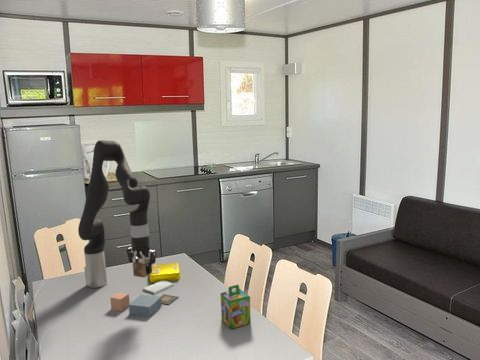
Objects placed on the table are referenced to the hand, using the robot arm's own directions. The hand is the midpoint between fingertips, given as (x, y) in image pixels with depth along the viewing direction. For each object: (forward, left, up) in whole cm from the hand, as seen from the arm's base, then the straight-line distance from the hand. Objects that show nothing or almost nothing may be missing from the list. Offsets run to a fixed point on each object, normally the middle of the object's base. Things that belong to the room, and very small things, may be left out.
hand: (142, 272), depth 177 cm
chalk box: (+41, +4, -17) cm, 45 cm away
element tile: (-14, +35, -17) cm, 41 cm away
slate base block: (0, 0, -17) cm, 17 cm away
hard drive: (-8, +21, -18) cm, 28 cm away
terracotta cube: (-12, -2, -17) cm, 21 cm away
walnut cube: (0, 0, -1) cm, 1 cm away
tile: (+3, +11, -17) cm, 20 cm away
